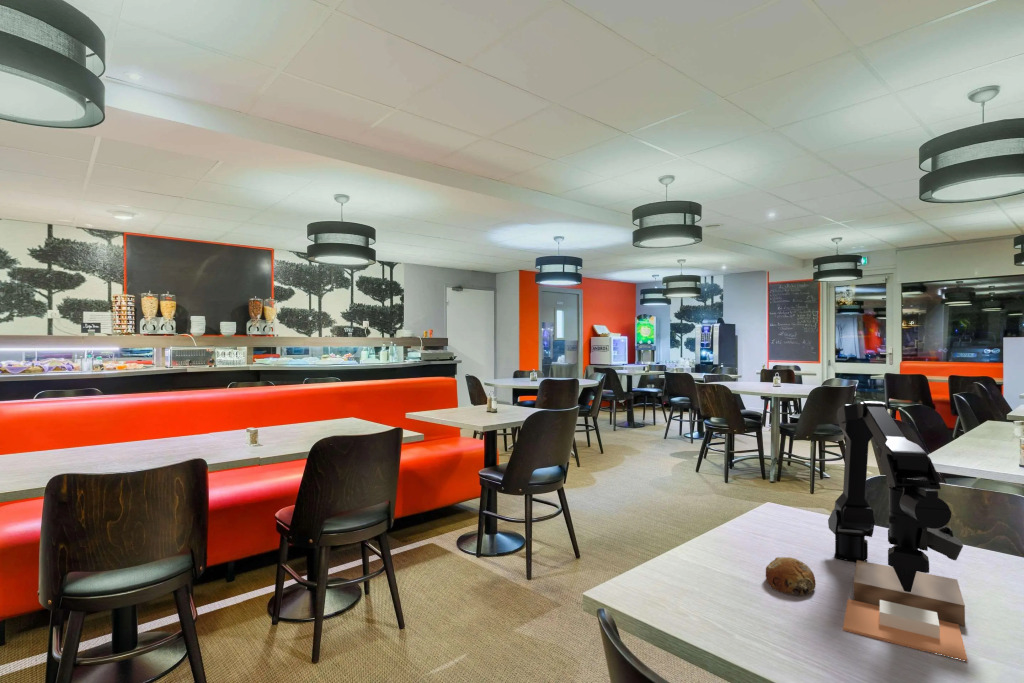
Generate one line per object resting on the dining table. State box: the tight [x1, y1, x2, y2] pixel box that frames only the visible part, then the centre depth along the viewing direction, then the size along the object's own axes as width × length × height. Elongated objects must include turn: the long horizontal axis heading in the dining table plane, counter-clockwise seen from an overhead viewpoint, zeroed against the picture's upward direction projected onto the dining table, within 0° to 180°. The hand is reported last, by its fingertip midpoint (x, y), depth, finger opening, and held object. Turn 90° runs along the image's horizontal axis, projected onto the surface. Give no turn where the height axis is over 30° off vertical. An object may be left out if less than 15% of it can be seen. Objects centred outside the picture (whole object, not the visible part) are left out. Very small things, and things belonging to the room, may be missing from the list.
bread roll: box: [765, 556, 816, 597], centre depth 120 cm, size 10×10×8 cm
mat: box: [842, 598, 969, 662], centre depth 102 cm, size 18×14×1 cm
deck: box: [853, 560, 966, 627], centre depth 113 cm, size 18×14×4 cm
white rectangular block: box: [880, 600, 940, 639], centre depth 102 cm, size 9×6×2 cm, turn 55°
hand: (907, 591), depth 106 cm, fingers closed
